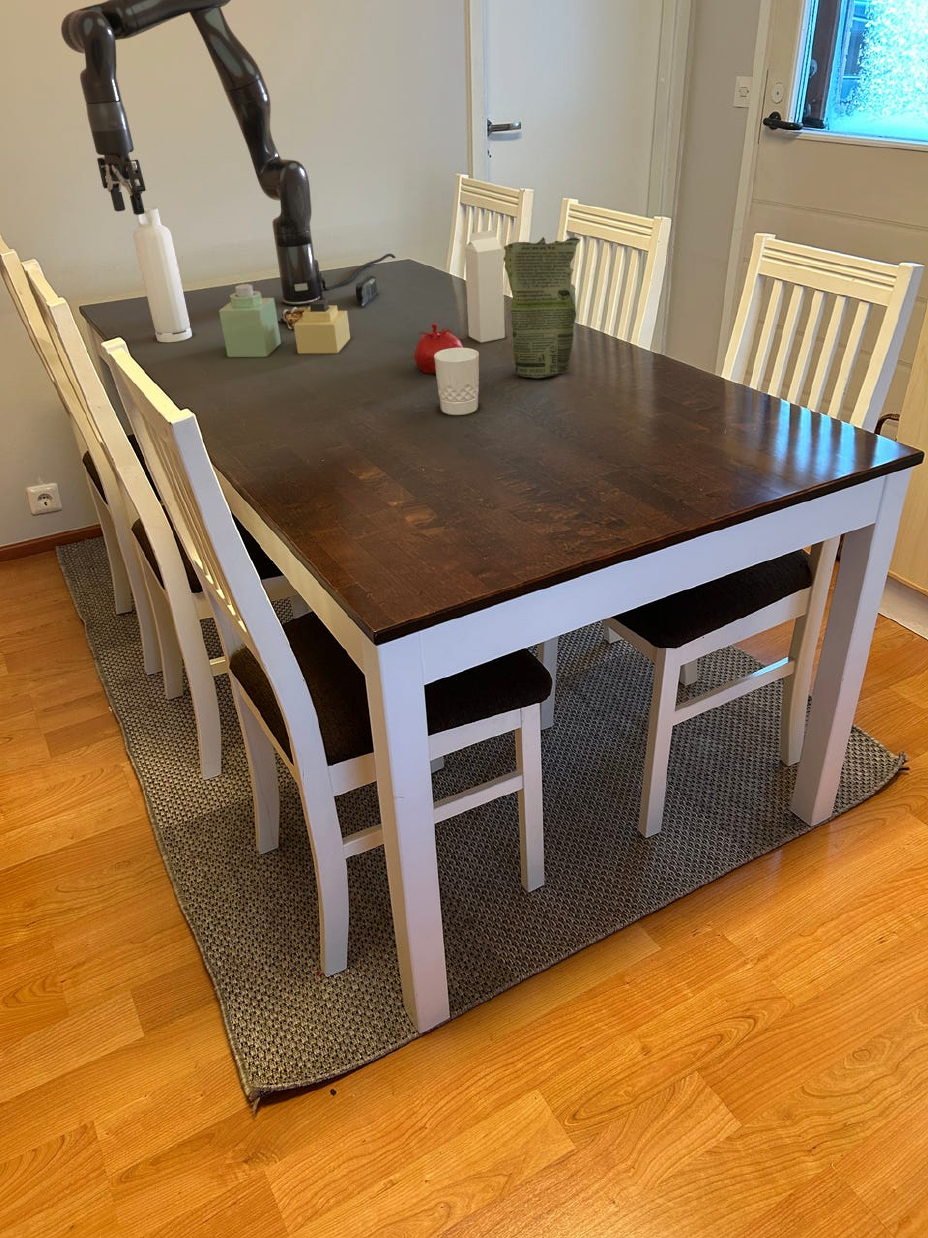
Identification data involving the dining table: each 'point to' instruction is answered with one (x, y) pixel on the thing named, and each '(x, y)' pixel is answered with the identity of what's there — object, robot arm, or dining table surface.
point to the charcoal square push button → (319, 306)
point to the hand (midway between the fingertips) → (129, 212)
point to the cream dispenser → (322, 331)
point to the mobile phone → (366, 290)
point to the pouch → (541, 305)
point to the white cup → (457, 380)
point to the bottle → (161, 278)
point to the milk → (485, 287)
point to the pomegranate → (433, 348)
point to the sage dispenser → (250, 326)
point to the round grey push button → (244, 290)
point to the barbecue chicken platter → (292, 316)
